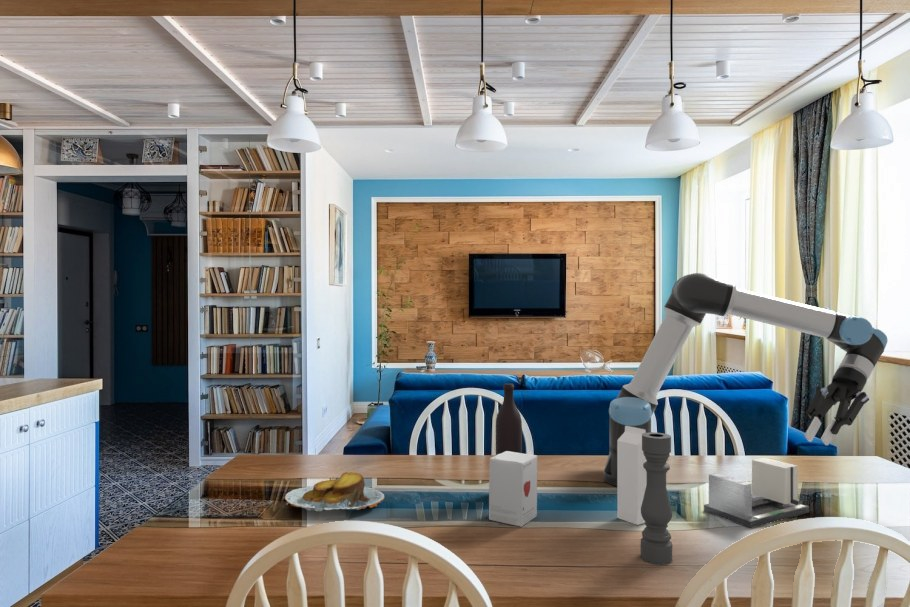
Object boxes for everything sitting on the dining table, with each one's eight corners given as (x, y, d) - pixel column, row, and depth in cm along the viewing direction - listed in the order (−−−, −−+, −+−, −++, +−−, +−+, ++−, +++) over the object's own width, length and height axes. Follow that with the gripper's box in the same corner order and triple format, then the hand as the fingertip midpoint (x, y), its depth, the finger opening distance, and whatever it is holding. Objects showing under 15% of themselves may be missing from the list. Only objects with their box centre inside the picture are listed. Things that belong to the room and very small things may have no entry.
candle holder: (673, 554, 126) (673, 433, 126) (670, 566, 120) (670, 440, 120) (642, 549, 129) (642, 431, 128) (638, 561, 123) (638, 437, 123)
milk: (637, 525, 143) (637, 431, 142) (616, 518, 147) (616, 427, 147) (653, 519, 146) (653, 427, 146) (632, 512, 151) (632, 423, 151)
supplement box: (522, 527, 141) (522, 463, 141) (488, 520, 146) (488, 457, 146) (538, 516, 149) (538, 454, 149) (505, 509, 154) (505, 449, 154)
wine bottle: (527, 494, 165) (527, 383, 165) (511, 501, 160) (511, 386, 160) (506, 489, 170) (506, 381, 170) (490, 495, 165) (490, 384, 165)
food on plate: (273, 499, 163) (273, 474, 163) (360, 484, 176) (360, 462, 176) (304, 529, 141) (304, 500, 141) (400, 510, 154) (400, 484, 154)
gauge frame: (750, 528, 141) (750, 486, 141) (703, 510, 152) (703, 472, 152) (809, 512, 151) (809, 474, 151) (761, 497, 162) (761, 461, 162)
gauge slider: (791, 506, 148) (792, 470, 148) (752, 494, 158) (752, 459, 158) (804, 503, 150) (804, 467, 150) (764, 491, 160) (764, 457, 160)
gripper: (890, 387, 164) (854, 456, 156) (827, 380, 179) (792, 442, 171) (879, 368, 162) (842, 437, 154) (816, 362, 176) (780, 425, 169)
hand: (816, 440), depth 163 cm, fingers open, 4 cm apart
